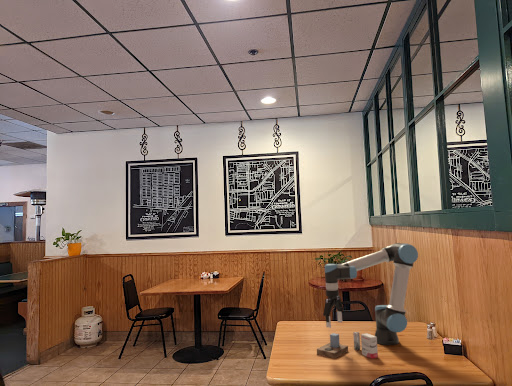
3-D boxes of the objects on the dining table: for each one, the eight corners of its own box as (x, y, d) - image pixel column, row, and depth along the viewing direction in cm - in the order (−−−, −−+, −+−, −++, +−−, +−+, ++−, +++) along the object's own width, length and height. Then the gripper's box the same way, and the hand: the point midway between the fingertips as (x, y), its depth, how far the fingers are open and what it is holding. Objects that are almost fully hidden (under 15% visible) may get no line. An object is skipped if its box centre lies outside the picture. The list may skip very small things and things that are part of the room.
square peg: (339, 351, 225) (339, 334, 226) (336, 352, 222) (335, 335, 223) (334, 349, 227) (333, 333, 228) (330, 351, 224) (329, 334, 225)
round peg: (361, 349, 227) (360, 332, 228) (358, 350, 224) (357, 333, 225) (355, 348, 229) (355, 331, 230) (353, 349, 226) (352, 332, 227)
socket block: (348, 351, 224) (347, 345, 224) (334, 358, 212) (334, 353, 213) (330, 347, 232) (330, 342, 232) (316, 354, 220) (316, 348, 221)
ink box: (378, 357, 212) (377, 336, 213) (371, 359, 210) (370, 337, 211) (367, 353, 220) (366, 332, 221) (361, 354, 218) (360, 334, 219)
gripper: (336, 285, 240) (339, 319, 238) (315, 292, 221) (318, 328, 219) (347, 286, 235) (349, 320, 233) (326, 293, 216) (329, 330, 214)
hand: (334, 324), depth 226 cm, fingers open, 13 cm apart
